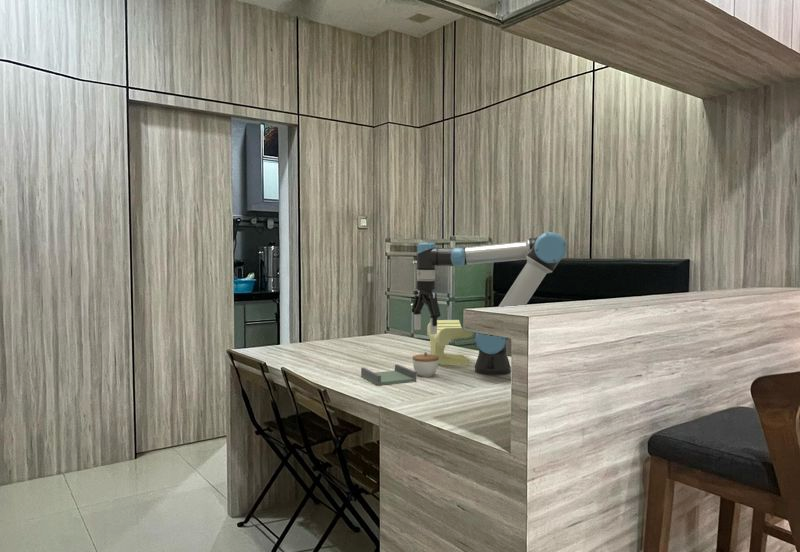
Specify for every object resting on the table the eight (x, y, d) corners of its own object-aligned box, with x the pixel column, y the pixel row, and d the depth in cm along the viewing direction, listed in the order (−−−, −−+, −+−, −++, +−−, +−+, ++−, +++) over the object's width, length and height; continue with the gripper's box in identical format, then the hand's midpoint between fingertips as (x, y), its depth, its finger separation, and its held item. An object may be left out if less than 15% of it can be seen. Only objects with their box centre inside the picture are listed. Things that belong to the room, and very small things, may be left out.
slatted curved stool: (427, 356, 263) (427, 320, 263) (458, 355, 265) (459, 319, 264) (438, 368, 233) (438, 328, 233) (474, 367, 235) (474, 327, 235)
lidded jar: (410, 377, 216) (410, 354, 216) (415, 371, 227) (415, 349, 226) (436, 378, 214) (436, 355, 213) (440, 373, 224) (440, 351, 224)
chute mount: (397, 373, 224) (397, 364, 224) (416, 381, 209) (416, 372, 209) (361, 376, 217) (361, 367, 217) (378, 385, 201) (378, 376, 201)
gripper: (404, 279, 228) (403, 328, 229) (432, 281, 206) (432, 336, 207) (419, 279, 232) (419, 327, 232) (449, 281, 209) (448, 335, 210)
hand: (425, 331), depth 220 cm, fingers open, 13 cm apart
